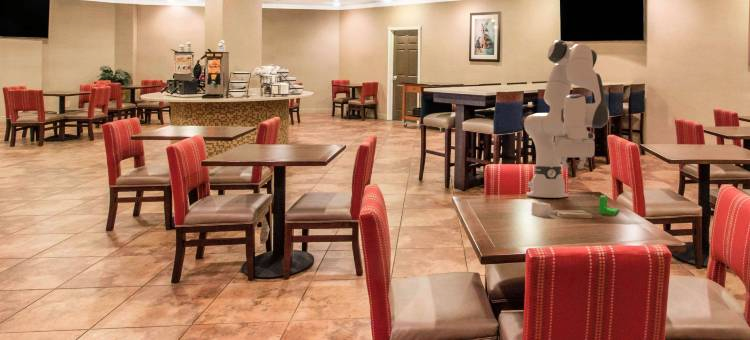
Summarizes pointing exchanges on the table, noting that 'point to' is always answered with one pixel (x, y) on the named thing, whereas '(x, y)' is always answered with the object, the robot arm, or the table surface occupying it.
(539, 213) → the connector
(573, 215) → the birch board
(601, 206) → the mechanical part
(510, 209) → the table surface
